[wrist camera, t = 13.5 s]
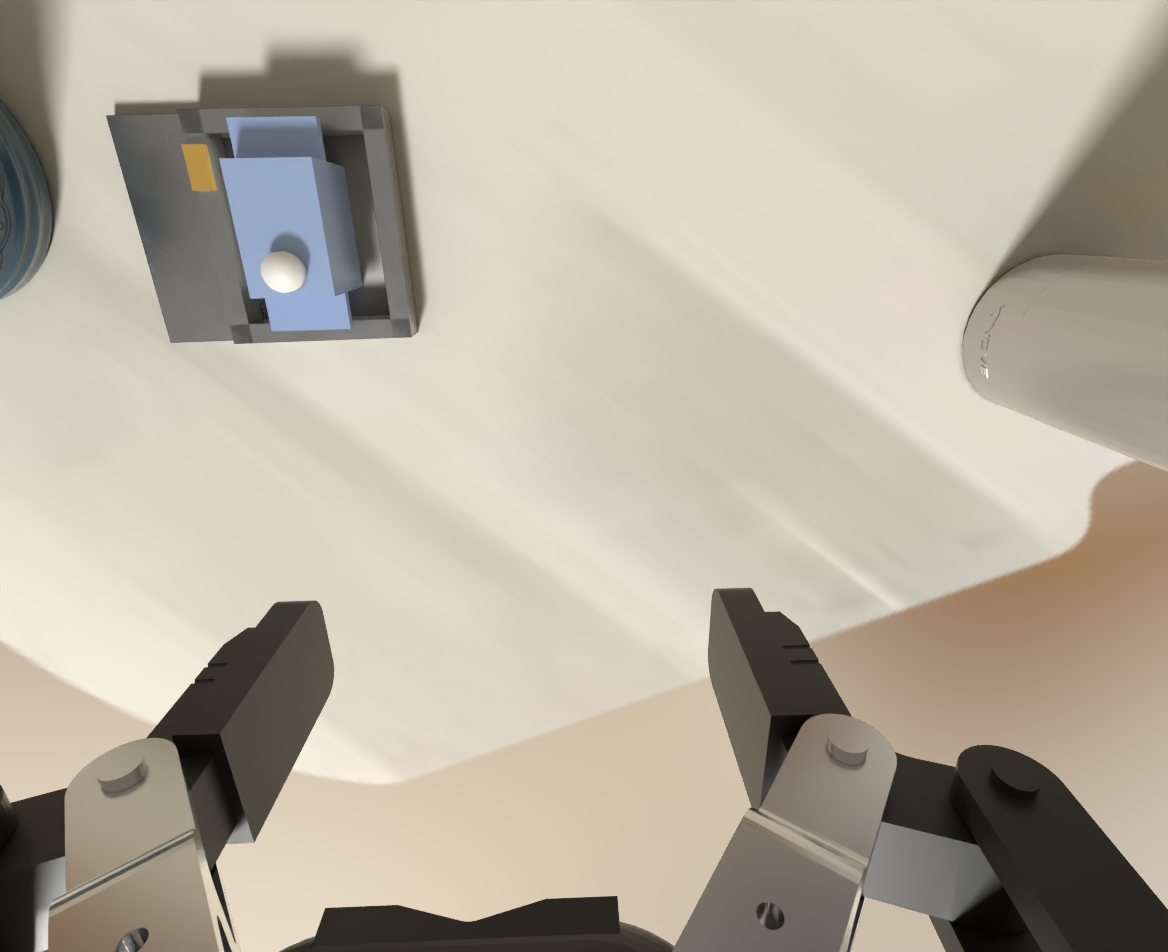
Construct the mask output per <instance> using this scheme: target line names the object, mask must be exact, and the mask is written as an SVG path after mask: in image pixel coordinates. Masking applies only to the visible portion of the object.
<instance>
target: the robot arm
mask: <svg viewBox="0 0 1168 952" xmlns="http://www.w3.org/2000/svg"><path fill="white" fill-rule="evenodd" d="M962 356H963V366H964V370H965V372H966V375H967V378H968V380H969V382H970V383H971V385H972V386H973V387H974V389H975V390H976V391H977V392H978V393H979V394H980V395H981V396H983V397H984V398H985V399H987V400H989V401H991V402H994V403H996V404H998V405H1001V406H1003V407H1006V408H1008V409H1011V410H1013V411H1016V412H1018V413H1021V414H1023V415H1026V416H1028V417H1031V418H1033V419H1036V420H1038V421H1040V422H1043V423H1045V424H1048V425H1050V426H1053V427H1055V428H1058V429H1060V430H1063V431H1065V432H1068V433H1071V434H1073V435H1076V436H1078V437H1081V438H1083V439H1086V440H1088V441H1091V442H1093V443H1096V444H1098V445H1101V446H1104V447H1106V448H1109V449H1111V450H1114V451H1116V452H1119V453H1121V454H1124V455H1126V456H1129V457H1131V458H1134V459H1137V460H1139V461H1142V462H1144V463H1147V464H1149V465H1152V466H1154V467H1157V468H1160V469H1162V470H1164V471H1167V472H1168V260H1156V259H1139V258H1125V257H1108V256H1090V255H1071V254H1051V255H1046V256H1042V257H1037V258H1033V259H1031V260H1029V261H1027V262H1025V263H1022V264H1020V265H1018V266H1016V267H1015V268H1013V269H1012V270H1010V271H1009V272H1008V273H1006V274H1005V275H1003V276H1002V277H1001V278H1000V279H999V280H998V281H997V282H996V283H994V284H993V285H992V286H991V287H990V288H989V289H988V290H987V292H986V293H985V295H984V296H983V297H982V299H981V300H980V301H979V303H978V304H977V306H976V308H975V309H974V311H973V313H972V315H971V317H970V319H969V322H968V325H967V328H966V331H965V335H964V340H963V349H962ZM708 663H709V672H710V678H711V682H712V685H713V688H714V692H715V695H716V697H717V701H718V704H719V707H720V710H721V713H722V716H723V720H724V723H725V726H726V729H727V732H728V735H729V738H730V741H731V744H732V747H733V750H734V753H735V756H736V759H737V763H738V766H739V769H740V772H741V775H742V778H743V781H744V785H745V788H746V791H747V794H748V797H749V800H750V803H751V806H752V808H750V809H749V810H748V811H747V812H746V813H745V815H744V816H743V818H742V820H741V822H740V824H739V826H738V827H737V829H736V831H735V833H734V835H733V837H732V839H731V841H730V843H729V845H728V847H727V848H726V850H725V852H724V854H723V856H722V858H721V860H720V862H719V863H718V865H717V867H716V869H715V871H714V873H713V875H712V877H711V879H710V880H709V882H708V884H707V886H706V888H705V890H704V892H703V894H702V896H701V898H700V899H699V901H698V903H697V905H696V907H695V909H694V911H693V913H692V915H691V917H690V919H689V920H688V922H687V924H686V926H685V928H684V930H683V932H682V934H681V936H680V937H679V939H678V941H677V943H676V945H675V947H674V946H673V945H671V944H670V943H669V942H667V941H665V940H664V939H662V938H660V937H658V936H656V935H654V934H653V933H651V932H648V931H646V930H644V929H641V928H639V927H636V926H634V925H630V924H626V923H623V922H619V913H618V900H617V896H610V897H609V896H608V897H584V898H559V899H545V900H541V901H538V902H535V903H532V904H529V905H526V906H522V907H519V908H516V909H512V910H509V911H506V912H503V913H500V914H496V915H493V916H490V917H487V918H484V919H480V920H477V921H472V922H464V921H459V920H455V919H451V918H447V917H443V916H439V915H435V914H431V913H427V912H423V911H419V910H415V909H411V908H407V907H403V906H399V905H392V906H390V905H389V906H365V907H342V908H325V911H324V914H323V916H322V919H321V923H320V925H319V928H318V931H317V934H316V936H315V937H312V938H309V939H306V940H303V941H301V942H299V943H296V944H294V945H292V946H289V947H287V948H286V949H284V950H282V951H280V952H851V950H852V946H853V942H854V939H855V935H856V932H857V928H858V924H859V921H860V917H861V914H862V911H863V907H864V904H865V900H866V897H867V898H871V899H874V900H878V901H881V902H885V903H889V904H892V905H895V906H899V907H903V908H906V909H910V910H913V911H917V912H920V913H924V914H927V915H929V917H930V919H931V921H932V923H933V926H934V927H935V930H936V932H937V934H938V936H939V938H940V940H941V942H942V945H943V947H944V949H945V951H946V952H1168V909H1167V908H1166V907H1165V906H1164V904H1163V903H1162V902H1161V901H1160V900H1159V898H1158V897H1157V896H1156V895H1155V894H1154V892H1153V891H1152V890H1151V889H1150V888H1149V886H1148V885H1147V884H1146V883H1145V881H1144V880H1143V879H1142V878H1141V877H1140V876H1139V874H1138V873H1137V872H1136V871H1135V869H1134V868H1133V867H1132V866H1131V865H1130V863H1129V862H1128V861H1127V860H1126V859H1125V857H1124V856H1123V855H1122V854H1121V853H1120V851H1119V850H1118V849H1117V848H1116V846H1115V845H1114V844H1113V843H1112V842H1111V840H1110V839H1109V838H1108V837H1107V836H1106V834H1105V833H1104V832H1103V831H1102V830H1101V828H1100V827H1099V826H1098V825H1097V824H1096V823H1095V821H1094V820H1093V819H1092V818H1091V816H1090V815H1089V814H1088V813H1087V811H1086V810H1085V809H1084V808H1083V807H1082V805H1081V804H1080V803H1079V802H1078V801H1077V799H1076V798H1075V797H1074V796H1073V795H1072V793H1071V792H1070V791H1069V790H1068V788H1067V787H1066V786H1065V785H1064V784H1063V783H1062V781H1061V780H1060V779H1059V778H1058V777H1057V776H1056V775H1055V774H1053V773H1052V772H1051V771H1050V770H1049V769H1047V768H1046V767H1044V766H1043V765H1041V764H1040V763H1038V762H1037V761H1035V760H1033V759H1031V758H1030V757H1028V756H1025V755H1024V754H1021V753H1019V752H1016V751H1013V750H1010V749H1007V748H1004V747H999V746H993V745H977V746H973V747H970V748H968V749H966V750H964V751H963V752H962V753H961V754H960V756H959V758H958V761H957V765H956V767H953V766H948V765H943V764H938V763H934V762H929V761H924V760H920V759H915V758H911V757H908V756H904V755H901V754H899V753H896V752H895V751H894V749H893V747H892V745H891V744H890V742H889V741H888V740H887V739H886V738H885V737H884V736H883V735H882V734H881V733H880V732H879V731H877V730H876V729H875V728H874V727H872V726H870V725H869V724H867V723H865V722H863V721H861V720H859V719H856V718H853V717H852V716H851V714H850V713H849V711H848V709H847V707H846V706H845V704H844V703H843V701H842V699H841V697H840V696H839V694H838V692H837V691H836V689H835V687H834V685H833V684H832V682H831V680H830V679H829V677H828V676H827V674H826V672H825V670H824V668H823V667H822V665H821V664H819V662H818V658H817V657H816V655H815V653H814V651H813V650H812V649H811V648H810V645H809V643H808V641H807V640H806V638H805V636H804V635H803V633H802V631H801V629H800V628H799V626H797V625H796V624H795V623H793V622H792V621H791V620H790V619H788V618H787V617H786V616H785V615H783V614H782V613H781V612H764V610H763V608H762V606H761V604H760V602H759V600H758V598H757V596H756V595H755V593H754V591H753V589H752V588H729V589H714V591H713V594H712V603H711V617H710V632H709V646H708ZM333 679H334V663H333V658H332V653H331V649H330V644H329V639H328V635H327V630H326V625H325V620H324V616H323V611H322V608H321V606H320V604H319V603H318V602H317V601H289V602H277V603H275V604H274V605H273V606H272V607H271V608H270V610H269V611H268V612H267V614H266V615H265V616H264V617H263V619H262V620H261V621H260V623H259V624H258V625H257V626H256V628H247V629H246V630H244V631H243V632H241V633H240V634H238V635H237V636H235V637H234V638H233V639H231V640H230V641H228V642H227V643H225V644H224V645H223V646H222V647H221V649H220V650H219V651H218V652H217V653H216V655H215V656H214V657H213V658H212V659H211V661H210V662H209V663H208V667H207V668H204V669H203V670H202V671H201V673H200V674H199V675H198V676H197V678H196V679H195V683H194V684H191V685H190V686H189V687H188V688H187V690H186V691H185V692H184V693H183V694H182V696H181V697H180V698H179V699H178V701H177V702H176V703H175V704H174V705H173V707H172V708H171V709H170V710H169V711H168V713H167V714H166V715H165V716H164V717H163V719H162V720H161V721H160V722H159V723H158V725H157V726H156V727H155V728H154V730H153V731H152V732H151V733H150V734H149V736H148V737H147V738H146V739H140V740H136V741H132V742H129V743H126V744H123V745H121V746H118V747H116V748H114V749H112V750H110V751H108V752H106V753H104V754H103V755H101V756H99V757H98V758H96V759H95V760H93V761H92V762H91V763H89V764H88V765H87V766H86V767H84V768H83V769H82V770H81V771H80V772H79V773H78V774H77V775H76V777H75V778H74V779H73V780H72V782H71V783H70V785H69V786H68V788H65V789H61V790H57V791H54V792H50V793H46V794H42V795H39V796H35V797H31V798H28V799H24V800H20V801H17V802H12V803H10V802H9V800H8V798H7V796H6V794H5V792H4V790H3V788H2V786H1V785H0V952H241V951H240V947H239V943H238V939H237V935H236V931H235V927H234V923H233V919H232V916H231V912H230V908H229V904H228V900H227V896H226V892H225V889H224V884H223V880H222V877H221V873H220V870H219V867H218V864H217V859H218V857H219V855H220V854H221V852H222V850H223V848H224V846H225V844H236V843H254V842H255V840H256V838H257V836H258V834H259V832H260V830H261V828H262V826H263V824H264V822H265V820H266V819H267V817H268V815H269V813H270V811H271V809H272V807H273V805H274V803H275V801H276V799H277V797H278V795H279V793H280V791H281V789H282V787H283V785H284V783H285V781H286V779H287V777H288V775H289V773H290V771H291V769H292V767H293V766H294V764H295V762H296V760H297V758H298V756H299V754H300V752H301V750H302V748H303V746H304V744H305V742H306V740H307V738H308V736H309V734H310V732H311V730H312V728H313V726H314V724H315V722H316V720H317V718H318V716H319V714H320V713H321V711H322V709H323V707H324V705H325V703H326V701H327V699H328V697H329V695H330V692H331V689H332V685H333Z"/></svg>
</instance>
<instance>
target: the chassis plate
mask: <svg viewBox="0 0 1168 952" xmlns="http://www.w3.org/2000/svg"><path fill="white" fill-rule="evenodd" d="M177 112H178V114H157V115H109V116H106V117H107V120H108V124H109V127H110V131H111V134H112V138H113V142H114V145H115V149H116V152H117V156H118V159H119V163H120V166H121V170H122V173H123V177H124V180H125V184H126V187H127V191H128V194H129V198H130V201H131V205H132V208H133V212H134V215H135V219H136V222H137V226H138V229H139V233H140V236H141V240H142V243H143V247H144V250H145V254H146V258H147V261H148V265H149V268H150V272H151V275H152V279H153V282H154V286H155V289H156V293H157V296H158V300H159V303H160V307H161V310H162V314H163V317H164V321H165V324H166V328H167V331H168V335H169V338H170V342H171V343H179V342H206V341H232V340H233V341H234V344H244V343H270V342H296V341H323V340H349V339H375V338H401V337H412V336H414V335H415V334H416V333H417V332H418V328H417V321H416V313H415V305H414V298H413V290H412V282H411V275H410V267H409V259H408V251H407V244H406V236H405V228H404V221H403V213H402V205H401V198H400V190H399V182H398V175H397V167H396V159H395V151H394V144H393V136H392V128H391V121H390V113H389V111H388V110H386V109H385V108H384V107H382V106H381V105H371V106H322V107H274V108H225V109H177ZM297 116H316V117H318V118H319V119H320V125H321V132H322V136H336V135H364V140H365V147H366V154H367V161H368V168H369V175H370V182H371V188H372V195H373V202H374V209H375V216H376V223H377V230H378V236H379V243H380V250H381V257H382V264H383V271H384V278H385V285H386V291H387V298H388V305H389V312H390V315H375V316H352V322H353V328H352V329H336V330H303V331H272V330H271V325H270V321H269V319H265V320H263V317H262V312H261V308H260V304H259V299H258V298H257V299H250V295H249V290H248V286H247V281H246V277H245V272H244V268H243V263H242V259H241V254H240V250H239V245H238V241H237V236H236V232H235V227H234V223H233V218H232V214H231V209H230V205H229V200H228V196H227V191H226V187H225V182H224V178H223V173H222V169H221V165H220V160H219V158H227V156H226V152H225V147H224V143H223V138H230V134H229V129H228V124H227V120H226V117H297Z"/></svg>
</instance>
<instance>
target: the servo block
mask: <svg viewBox="0 0 1168 952" xmlns="http://www.w3.org/2000/svg"><path fill="white" fill-rule="evenodd" d="M226 120H227V124H228V129H229V134H230V138H231V143H232V148H233V152H234V157H235V158H219V160H220V165H221V169H222V173H223V178H224V182H225V187H226V191H227V196H228V200H229V205H230V209H231V214H232V218H233V223H234V227H235V232H236V236H237V241H238V245H239V250H240V254H241V259H242V263H243V268H244V272H245V277H246V281H247V286H248V290H249V295H250V299H257V298H265V302H266V307H267V311H268V316H269V321H270V325H271V330H272V331H303V330H336V329H352V328H353V322H352V315H351V309H350V303H349V297H348V292H349V291H352V290H355V289H358V288H361V287H363V283H362V277H361V270H360V264H359V257H358V251H357V244H356V238H355V231H354V225H353V218H352V211H351V205H350V198H349V192H348V185H347V179H346V172H345V167H344V166H341V165H337V164H334V163H330V162H327V161H326V156H325V150H324V144H323V138H322V132H321V125H320V119H319V118H318V117H316V116H297V117H226Z"/></svg>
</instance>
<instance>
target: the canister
mask: <svg viewBox="0 0 1168 952" xmlns="http://www.w3.org/2000/svg"><path fill="white" fill-rule="evenodd" d="M51 230H52V207H51V200H50V194H49V189H48V185H47V182H46V178H45V175H44V172H43V169H42V167H41V164H40V162H39V160H38V157H37V155H36V153H35V151H34V149H33V147H32V145H31V143H30V142H29V140H28V138H27V136H26V135H25V133H24V131H23V130H22V129H21V127H20V126H19V124H18V123H17V121H16V120H15V119H14V117H13V116H12V115H11V113H10V112H9V111H8V110H7V108H6V107H5V106H4V105H3V104H2V103H1V101H0V300H1V299H3V298H6V297H8V296H10V295H11V294H13V293H15V292H17V291H18V290H19V289H21V288H22V287H23V286H24V285H25V284H26V283H28V282H29V281H30V279H31V278H32V277H33V276H34V275H35V273H36V272H37V271H38V269H39V268H40V266H41V264H42V262H43V260H44V258H45V255H46V253H47V250H48V246H49V242H50V238H51Z"/></svg>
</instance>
